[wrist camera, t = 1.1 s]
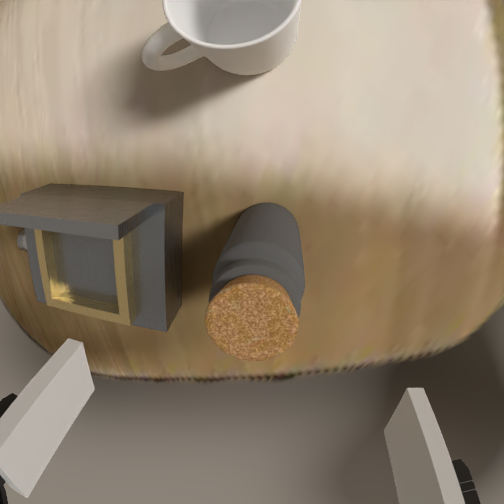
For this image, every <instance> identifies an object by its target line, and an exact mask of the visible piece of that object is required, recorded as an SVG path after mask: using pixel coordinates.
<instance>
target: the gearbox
mask: <svg viewBox="0 0 504 504" xmlns="http://www.w3.org/2000/svg"><path fill="white" fill-rule="evenodd" d="M183 195H184V192H178V191H166V190H154V189H141V188H126V187H110V186H93V185H72V184H48V185H45V186H42V187H39V188H36V189H33V190H30V191H28V192H25V193H22V194H21V197H19V198H16V199H13V200H11V201H8V202H6V203H3V204H1V205H0V224H1V225H8V226H15V227H23V228H24V229H22V230H21V231H20V232H19V234H18V237H17V244H18V247H19V248H20V249H21V250H25V251H28V257H29V263H30V268H31V274H32V279H33V284H34V289H35V294H36V298H37V301H39V302H43V303H46V304H47V305H49V306H52V307H56V308H59V309H63V310H67V311H70V312H74V313H78V314H82V315H86V316H90V317H94V318H98V319H102V320H106V321H111V322H115V323H119V324H124V325H128V326H131V325H135V326H140V327H145V328H150V329H155V330H160V331H165V332H167V331H168V329H169V327H170V325H171V323H172V322H173V320H174V318H175V316H176V314H177V313H178V311H179V309H180V307H181V305H182V295H181V276H182V221H183Z"/></svg>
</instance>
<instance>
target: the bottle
mask: <svg viewBox="0 0 504 504" xmlns="http://www.w3.org/2000/svg"><path fill="white" fill-rule="evenodd" d="M212 284H213V285H212V288H211V291H210V295H209V305H208V307H207V310H206V315H205V324H206V329H207V332H208V334H209V336H210V338H211V339H212V341H213V342H214V343H215V344H216V345H217V346H218V347H219V348H220V349H221V350H222V351H224V352H225V353H227V354H229V355H231V356H233V357H235V358H238V359H243V360H248V361H261V360H266V359H270V358H273V357H275V356H278V355H279V354H281V353H283V352H284V351H285V350H287V349H288V348H289V347H290V345H291V344H292V343H293V341H294V339H295V337H296V335H297V332H298V325H299V322H298V318H299V315H300V309H301V299H302V297H303V293H304V288H305V275H304V264H303V256H302V249H301V241H300V233H299V228H298V225H297V222H296V220H295V218H294V217H293V215H292V214H291V213H290V212H289V211H288V210H287V209H285V208H284V207H282V206H280V205H278V204H274V203H259V204H256V205H253V206H251V207H250V208H248V209H247V210H246V211H244V212H243V214H242V215H241V216H240V218H239V219H238V221H237V223H236V225H235V227H234V228H233V230H232V232H231V234H230V236H229V238H228V240H227V242H226V244H225V246H224V248H223V250H222V252H221V254H220V256H219V259H218V261H217V263H216V265H215V268H214V272H213V277H212Z"/></svg>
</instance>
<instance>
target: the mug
mask: <svg viewBox="0 0 504 504" xmlns="http://www.w3.org/2000/svg"><path fill="white" fill-rule="evenodd" d="M301 1H302V0H163V10H164V14H165V16H166V19H167V21H168V23H166V24H165V25H164V26H162V27H161V28H160V29H159V30H157V31H156V32H155V33H154V34H153V35H152V36H151V37H150V39H149V40H148V41H147V43H146V44H145V46H144V48H143V52H142V60H143V63H144V64H145V65H146V66H147V68H149V69H152V70H155V71H166V70H172V69H175V68H178V67H181V66H184V65H186V64H189V63H191V62H193V61H195V60H197V59H199V58H201V57H203V56H205V57H206V58H207V59H208V60H210V61H211V62H212V63H213V64H215V65H216V66H218V67H219V68H221V69H223V70H225V71H227V72H230V73H233V74H238V75H256V74H260V73H264V72H267V71H270V70H271V69H273V68H275V67H277V66H278V65H280V64H281V63H282V62H283V61H284V60H285V59H286V58H287V57H288V56H289V55H290V53H291V52H292V50H293V48H294V45H295V42H296V39H297V33H298V25H299V17H300V9H301ZM183 38H184V39H185V40H186V41H187V42H188V43H190V44H191V45H190V46H188V47H186V48H184V49H182V50H180V51H178V52H176V53H173V54H169V55H161V54H162V53H163V52H164V51H165V50H166V49H167V48H168V47H170V46H171V45H172V44H174V43H176V42H177V41H179V40H181V39H183Z"/></svg>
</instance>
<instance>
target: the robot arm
mask: <svg viewBox="0 0 504 504" xmlns="http://www.w3.org/2000/svg"><path fill="white" fill-rule="evenodd" d="M94 389H95V388H94V385H93V381H92V377H91V374H90V370H89V366H88V362H87V358H86V354H85V350H84V346H83V342H79V341H76V340H73V339H69V338H68V339H67V340H66V341H65V343H64V344H63V345H62V346H61V347H60V348H59V349H58V350H57V351H56V353H55V354H54V355H53V356H52V357H51V358H50V359H49V361H48V362H47V363H46V364H45V365H44V366H43V367H42V368H41V370H40V371H39V372H38V373H37V374H36V375H35V377H34V378H33V379H32V380H31V381H30V383H29V384H28V385H27V386H26V387H25V388H24V390H23V391H22V392H21V393H20V394H19V396H17V395H15V394H13V393H12V394H10V395H8V396H7V397H5V398H3V399H2V400H1V401H0V504H8V501H7V496H6V491H5V488H4V486H3V485H4V483H5V482H6V483H7V484H8V485H9V486H10V487H11V488H12V489H13V490H15V491H17V492H18V493H20V494H21V495H23V496H25V497H26V498H28V497H29V495H30V493H31V491H32V489H33V488H34V486H35V484H36V482H37V481H38V479H39V478H40V475H41V474H42V472H43V471H44V469H45V467H46V466H47V464H48V462H49V461H50V459H51V457H52V456H53V454H54V452H55V451H56V449H57V447H58V446H59V444H60V443H61V441H62V439H63V438H64V436H65V435H66V433H67V431H68V430H69V428H70V427H71V425H72V423H73V422H74V420H75V419H76V417H77V416H78V414H79V412H80V411H81V409H82V408H83V406H84V405H85V403H86V402H87V400H88V398H89V397H90V396H91V394H92V392H93V391H94ZM384 434H385V438H386V443H387V447H388V451H389V455H390V460H391V465H392V470H393V474H394V479H395V484H396V489H397V494H398V500H399V504H480V501H479V498H478V494H477V491H475V485H474V483H473V482H472V477H471V475H470V471H469V469H468V467H467V466H466V465H465V464H464V463H463V461H462V460H461V459H459V460H454V461H451V458H450V456H449V453H448V450H447V447H446V445H445V442H444V439H443V437H442V434H441V432H440V429H439V426H438V423H437V421H436V418H435V416H434V414H433V411H432V408H431V406H430V403H429V401H428V399H427V396H426V394H425V392H424V389H423V388H407V389H406V391H405V393H404V395H403V397H402V399H401V401H400V403H399V405H398V406H397V408H396V410H395V412H394V414H393V416H392V417H391V420H390V421H389V423H388V424H387V426H386V428H385V430H384Z"/></svg>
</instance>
